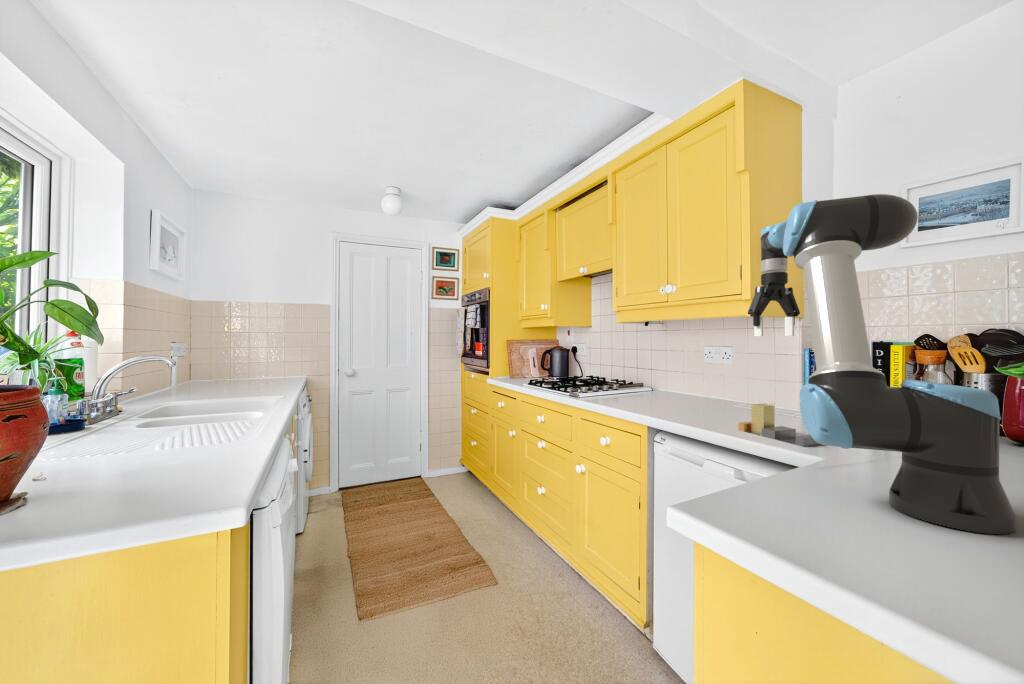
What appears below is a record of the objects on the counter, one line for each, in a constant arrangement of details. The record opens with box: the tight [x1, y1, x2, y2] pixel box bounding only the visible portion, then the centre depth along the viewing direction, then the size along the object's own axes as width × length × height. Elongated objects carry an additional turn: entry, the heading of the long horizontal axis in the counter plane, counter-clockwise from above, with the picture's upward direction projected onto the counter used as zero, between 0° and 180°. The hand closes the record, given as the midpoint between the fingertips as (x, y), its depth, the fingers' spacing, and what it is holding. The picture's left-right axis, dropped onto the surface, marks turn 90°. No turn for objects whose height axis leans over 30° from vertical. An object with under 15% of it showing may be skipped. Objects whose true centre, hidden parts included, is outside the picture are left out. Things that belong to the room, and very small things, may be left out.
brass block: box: [750, 403, 775, 434], centre depth 131 cm, size 4×4×9 cm
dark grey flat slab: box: [737, 421, 822, 448], centre depth 125 cm, size 8×22×3 cm, turn 17°
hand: (774, 336), depth 135 cm, fingers open, 13 cm apart
